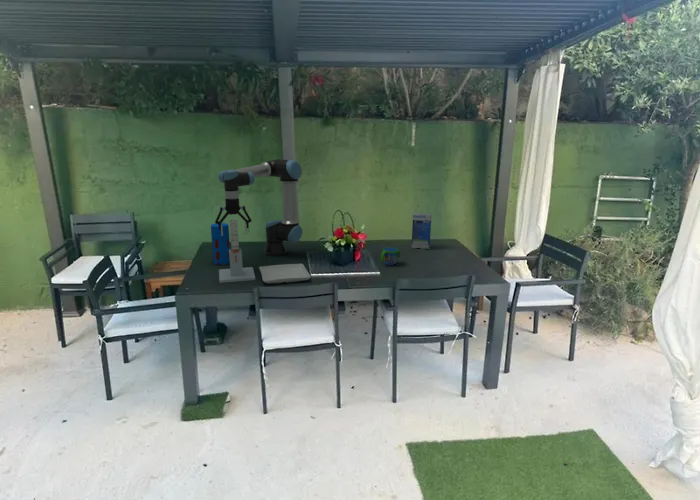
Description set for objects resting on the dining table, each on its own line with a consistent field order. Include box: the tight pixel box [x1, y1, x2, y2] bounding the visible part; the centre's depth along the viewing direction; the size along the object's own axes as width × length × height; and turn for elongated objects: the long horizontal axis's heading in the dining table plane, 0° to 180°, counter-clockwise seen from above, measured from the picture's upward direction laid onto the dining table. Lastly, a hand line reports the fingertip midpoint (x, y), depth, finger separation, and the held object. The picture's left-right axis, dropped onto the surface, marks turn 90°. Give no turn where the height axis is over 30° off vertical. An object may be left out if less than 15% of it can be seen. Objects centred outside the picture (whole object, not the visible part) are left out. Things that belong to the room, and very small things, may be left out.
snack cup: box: [380, 246, 401, 266], centre depth 286 cm, size 16×10×10 cm
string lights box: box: [411, 212, 432, 249], centre depth 322 cm, size 13×8×26 cm, turn 77°
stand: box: [218, 248, 256, 284], centre depth 259 cm, size 20×20×16 cm
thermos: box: [210, 222, 231, 266], centre depth 282 cm, size 11×11×25 cm
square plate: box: [258, 263, 311, 284], centre depth 261 cm, size 27×27×4 cm
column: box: [229, 219, 240, 252], centre depth 256 cm, size 4×4×26 cm
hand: (234, 234), depth 254 cm, fingers open, 13 cm apart
